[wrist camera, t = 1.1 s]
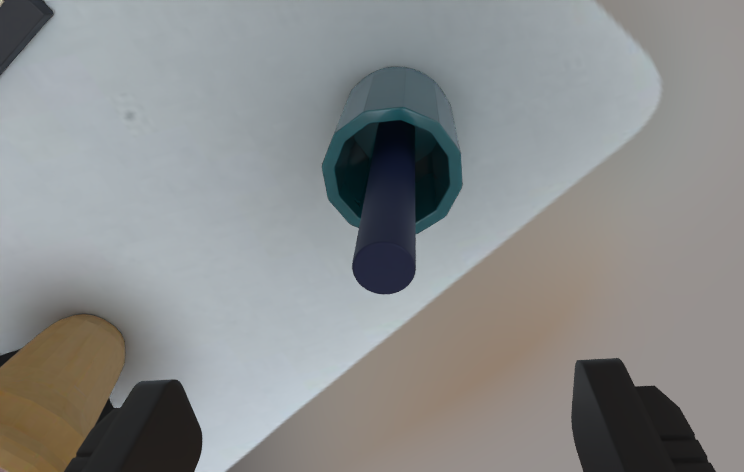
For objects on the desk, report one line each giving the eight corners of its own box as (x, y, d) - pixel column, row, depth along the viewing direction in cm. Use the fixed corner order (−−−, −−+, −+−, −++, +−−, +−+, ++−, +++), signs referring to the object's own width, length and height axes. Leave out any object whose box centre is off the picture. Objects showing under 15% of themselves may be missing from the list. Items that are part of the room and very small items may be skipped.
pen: (371, 120, 26) (339, 263, 15) (400, 98, 25) (390, 230, 14) (393, 148, 27) (377, 305, 15) (421, 127, 26) (428, 275, 15)
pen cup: (322, 110, 26) (295, 162, 20) (409, 42, 24) (407, 78, 18) (386, 188, 28) (379, 258, 22) (471, 131, 26) (488, 190, 20)
